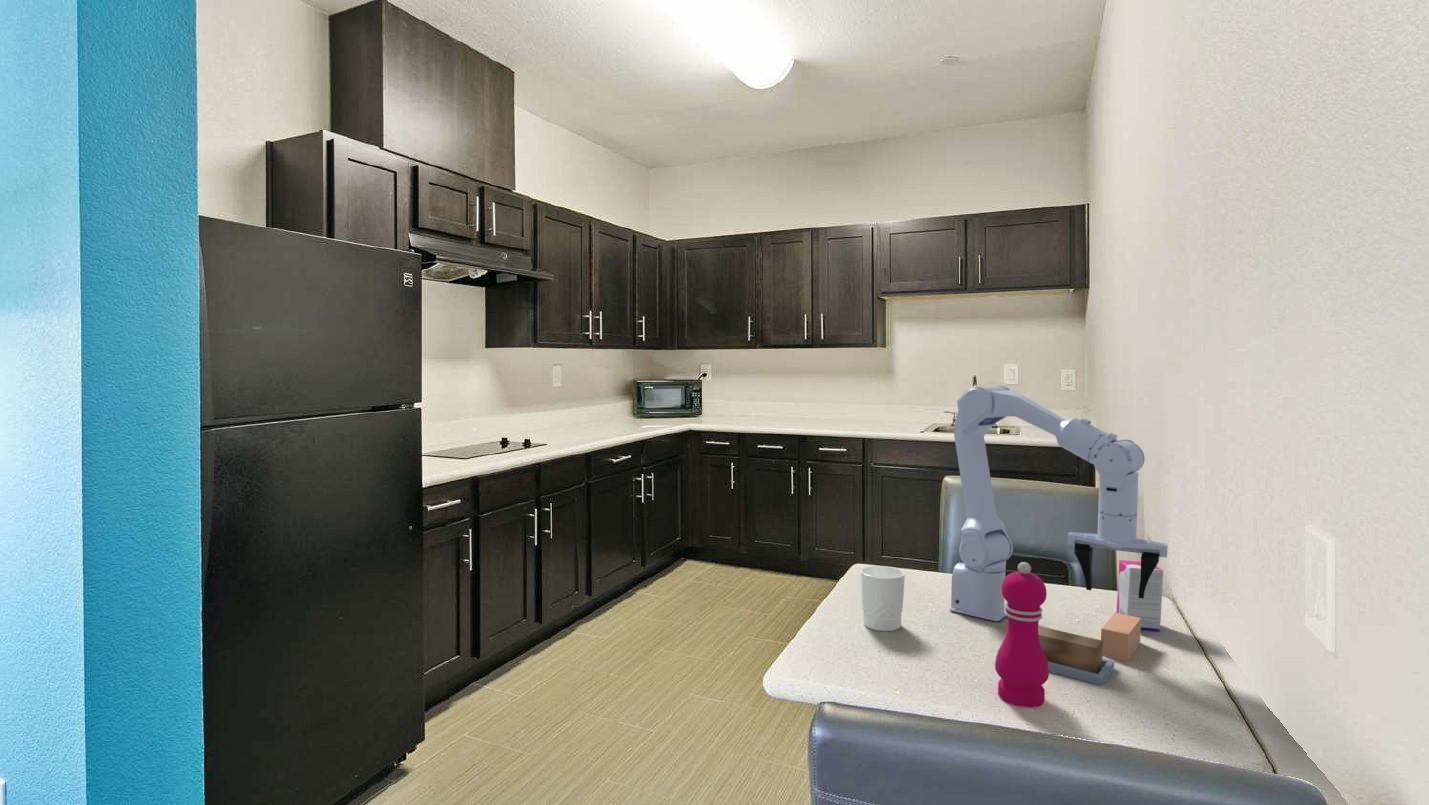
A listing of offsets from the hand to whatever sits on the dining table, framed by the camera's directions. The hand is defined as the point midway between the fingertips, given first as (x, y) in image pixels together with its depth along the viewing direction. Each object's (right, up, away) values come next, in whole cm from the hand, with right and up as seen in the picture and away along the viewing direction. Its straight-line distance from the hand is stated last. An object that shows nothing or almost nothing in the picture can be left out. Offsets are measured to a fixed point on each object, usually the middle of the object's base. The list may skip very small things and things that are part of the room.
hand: (1114, 592), depth 121 cm
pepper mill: (-23, -11, -16) cm, 30 cm away
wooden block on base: (-12, -11, -5) cm, 17 cm away
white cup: (-36, -9, +12) cm, 40 cm away
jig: (-12, -10, -5) cm, 16 cm away
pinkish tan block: (+2, -10, +1) cm, 10 cm away
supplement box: (+11, -10, +12) cm, 19 cm away
